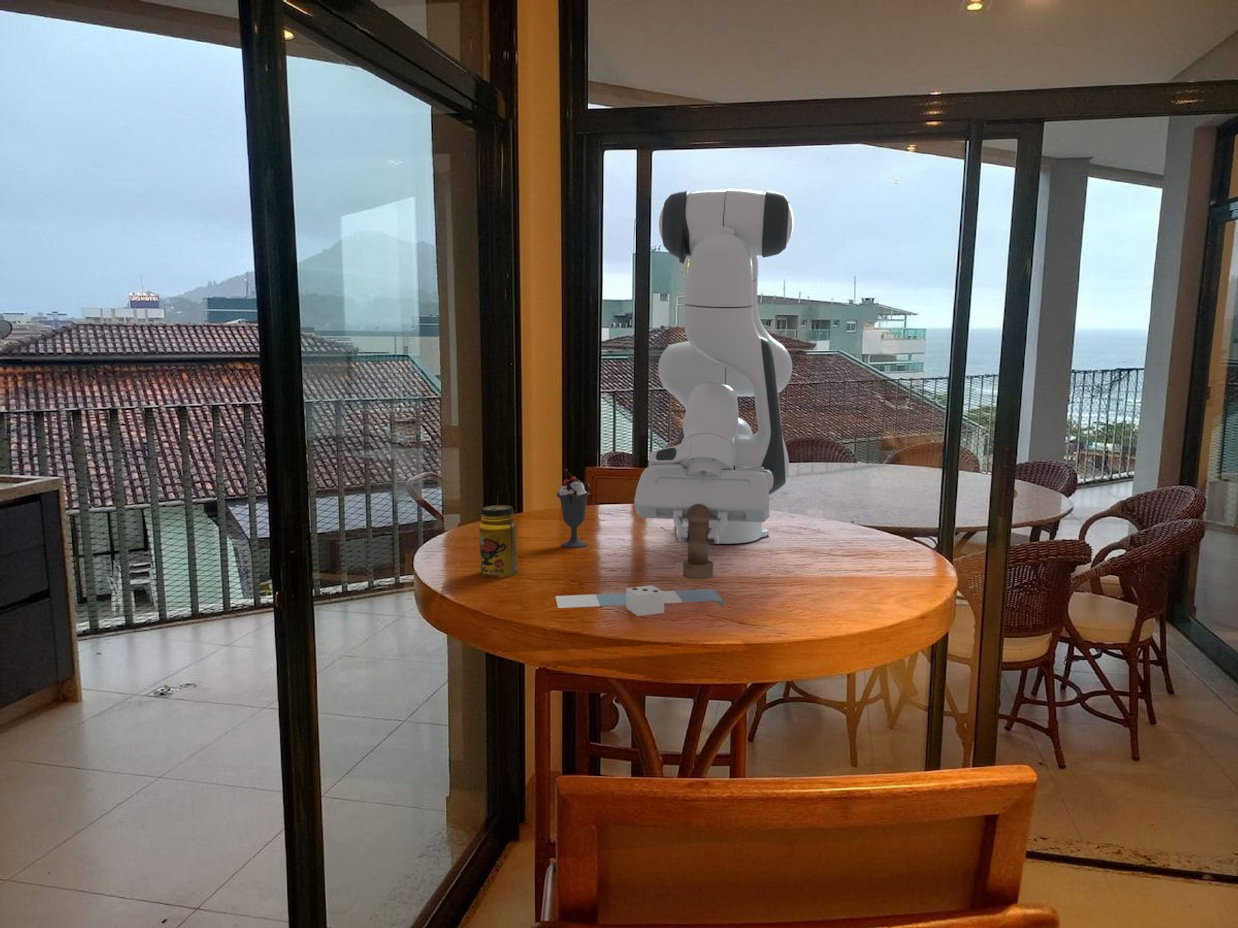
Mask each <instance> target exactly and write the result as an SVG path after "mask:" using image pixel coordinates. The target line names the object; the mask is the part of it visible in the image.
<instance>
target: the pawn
mask: <svg viewBox="0 0 1238 928" xmlns="http://www.w3.org/2000/svg"><path fill="white" fill-rule="evenodd" d="M687 519H688V542H687V559H686V560H683V561H682V577H684V578H685V579H688V580H689V579H690V580H709V579H712V578H713V577H714V562H713V561H711V560H709V550H710V549H709V548H710V546H709V545H710V543H708V530H709V520H710V511H709V509H708V508H707V507H706V506H705V505H703V504H694V505H692V506H691V507H690V508H689V510H688V512H687Z"/></svg>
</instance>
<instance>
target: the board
mask: <svg viewBox="0 0 1238 928" xmlns="http://www.w3.org/2000/svg"><path fill="white" fill-rule="evenodd" d="M663 592H664V604H675V603H676V604H677V603H678V604H679V603H701V602H702V603H703V602H717V603H718V604H719V606H721V608H723V607H724V600H723V598H722V597H721V596H720V595H719V594H718V592H716V591H715V590H714V588H709V589H707V588H706V589H704V588H703V589H688V590H687V589H686V590H682V589H681V590H666V591H663ZM555 601H556V605H557V609H569V608H570V609H572V608H573V609H574V608H592V607H593V608H594V607H595V608H596V607H613V606H614V607H615V606H617V607H618V606H626V592H621V593H619V592H618V593H598V594H597V593H595V594H592V593H591V594H576V595H575V594H573V595H572V594H571V595H555Z"/></svg>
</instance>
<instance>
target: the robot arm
mask: <svg viewBox="0 0 1238 928" xmlns="http://www.w3.org/2000/svg"><path fill="white" fill-rule="evenodd" d="M659 214H660V215H659V220H658V231H659V235H660V238H661V240H662V244H663V247H664V248H665V249H666V251H668V253H669V254H670V255H671V256H674V257H677V258H678V259H679V260H678V261H679V263H680V264H683V265H684V264H685V261H686V258H687V257H689V263H688V265H687V266H688V267H687V272H686V279H685V285H684V286H685V287H684V297H683V298H684V299H683V300H684V301H683V303H684V304H683V322H684V325H683V326H684V334H685V337H686V338H687V341H682V342H678V343H672V344H669V345H667V347H666V348H664V351H663V352H662V353H661V356H660V357H659V360H658V365H657V366H658V367H657V368H658V369H657V371H658V376H659V380H660V383H661V384H662V386H663V388H664V389H665V390H666V391H667V392H668V393H669V394H670V395H672V396H673V397H674V398H676V399H677V400H678V402H680V404H681V405H682V406H683V407H684V409H685V413H684V417H683V424H682V428H681V430H680V431H679V432H678V434H677V439H676V440H677V442H676V445H672V446H669V447H664V448H661V449H656V450H653V451H651V452H650V453H649V455H648V466H647V467H646V468H645V469H644V470H643V471H642V473H641V475H640V477H639V481H638V484H637V486H636V489H635V495H634V500H633V501H634V508H635V512H636V514H637V515H638V516H639V517H640V518H642V519H658V520H659V519H660V520H661V519H663V520H672V521H673V525H674V527H675V533H676V535H675V537H676V538H677V541H678V542H679V543H688V519H687V512H688V510H689V508H690V507H691V506H692V505H694V504H703V505H705V506H706V507H707V508H708V509H709V511H710V520H709V530H708V543H709V544H718V545H721V544H723V545H724V544H727V545H728V544H730V545H732V544H743V543H744V544H745V543H750V542H751V543H752V542H755V541H757V540H759V539H761V538H765V537H768V536H767V535H769V536H770V530H769V529H767V528H764V527H763V523H765V522H766V521H767V520H768V519H769V518H770V517H771V516H770V515H771V514H770V513H771V512H770V510H771V507H770V506H771V505H770V504H771V503H770V496H771V495H773V494H774V493H775V492H777V491H778V490H780V489H781V488H782V487H783V486H785V484H786V483H787V482H786V481H787V479H788V476H789V471H790V460H789V459H790V458H789V454H788V449H787V446H786V442H785V440H784V435H783V429H782V425H783V423H782V415H781V407H780V398H779V393H780V392H782V391H783V390H784V389H785V388H786V387H787V385H788V384H789V382H790V380H791V377H792V373H793V362H792V358H791V354H790V353H789V351H788V350H787V348H786V347H785V345H783V344H782V343H780V342H779V341H778V340H776V339H775V338H773V337H772V335H770V334H769V332H768V331H767V330H766V328H765V327H764V325H763V322H762V320H761V318H760V313H759V305H758V279H759V257H760V256H761V258H770V257H773V256H777V255H779V254H780V253H782V252H783V251H784V250H786V248H787V245H788V243H789V242H790V239H791V238H792V234H793V231H794V225H795V220H794V213H793V210H792V206H791V205H790V200H789V199H788V198H787V196H786V195H785V194H783V193H780V192H777V191H772V190H766V191H765V192H764V191H758V190H752V189H741V188H739V189H738V188H727V189H717V190H716V189H713V190H701V191H700V190H699V191H693V192H690V191H688V190H684V191H679V192H675V193H672V194H670V195H669V196H668V197H667V199H665V201H664V203H663V207H662V209H661V211H660V213H659ZM738 397H754V404H755V405H754V406H755V414H756V421H757V432H756V433H753V431H752V428H751V426H750V424H749V423H748V422H747V421H746V420H744V419H743V418H741V417H739V402H738Z"/></svg>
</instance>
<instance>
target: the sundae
mask: <svg viewBox="0 0 1238 928" xmlns="http://www.w3.org/2000/svg"><path fill="white" fill-rule="evenodd" d="M563 471H564V472H565V480H563V484H564V485H562V486H561V487H560V488H559V491H557V492H556V496H557V497H558V498H559V500H560V505H561V506H560V507H561V513H562V514H561V515H562V517H563V521H564V523H565V524H566V525H567V526H568V527H570V538H569V539H568V541H565V542H562V543H561V546H562V547H564V548H568V549H569V548H571V549H576V548H578V549H579V548H584V547H586V546H588V543H587V542H585V541H582V540H580V539H579V536H578V528H579V527H580V526H581V525H582V524H583V522H584V521H585V518H586V512H587V511H586V510H587V505H588V503H587V502H588V497H589V496H590V495H591V494H592V493H591V492H590V491H589V490H590V486H591V485H590V483H589V482H588V481H585V483H583V482H582V481H581V480H580V479H577V477H576V476H572V474H571V473H569V471H568V469H567V468H565V469H564V468H563ZM567 473H568V474H567ZM568 475H569V476H570V478H569V479H568Z"/></svg>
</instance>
